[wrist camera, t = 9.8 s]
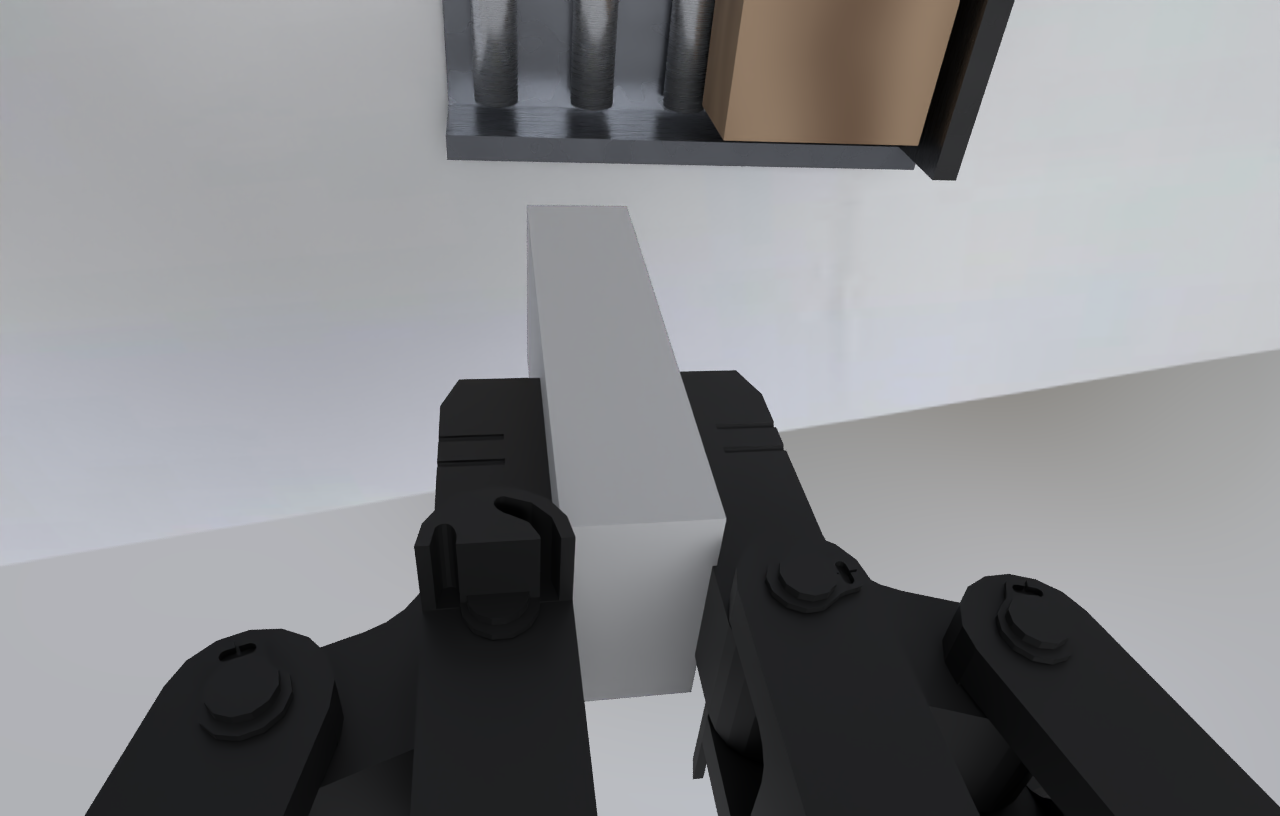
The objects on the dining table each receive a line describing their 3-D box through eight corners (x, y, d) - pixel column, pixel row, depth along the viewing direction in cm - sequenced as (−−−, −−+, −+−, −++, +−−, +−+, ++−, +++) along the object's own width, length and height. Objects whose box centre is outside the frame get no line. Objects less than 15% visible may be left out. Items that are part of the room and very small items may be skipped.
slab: (702, 105, 35) (723, 140, 32) (734, -151, 30) (764, -139, 27) (880, 111, 37) (917, 145, 33) (943, -133, 31) (994, -119, 28)
